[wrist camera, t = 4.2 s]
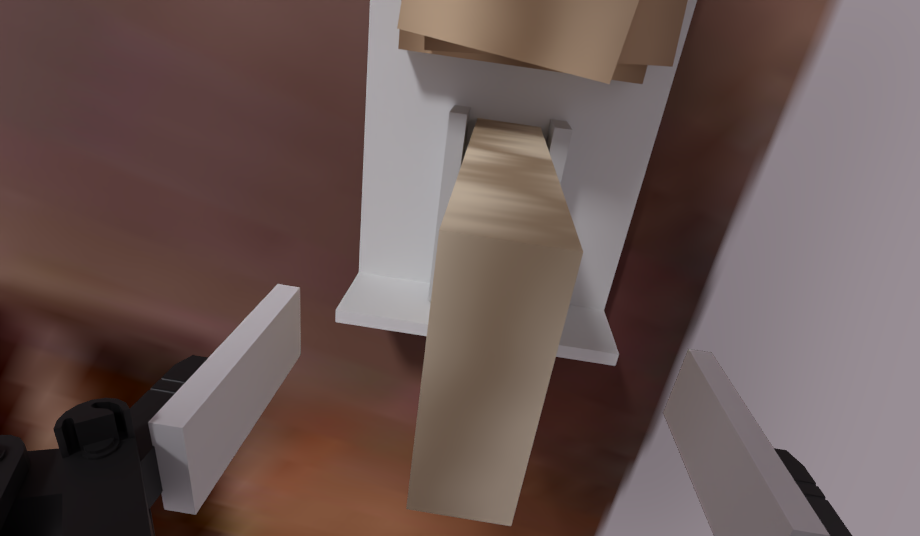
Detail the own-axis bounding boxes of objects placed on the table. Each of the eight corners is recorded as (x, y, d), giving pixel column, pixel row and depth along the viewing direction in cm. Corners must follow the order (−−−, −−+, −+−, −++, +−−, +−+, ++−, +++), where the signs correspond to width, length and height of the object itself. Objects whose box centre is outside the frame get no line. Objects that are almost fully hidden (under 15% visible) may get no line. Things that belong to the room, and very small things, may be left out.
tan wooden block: (455, 277, 32) (406, 508, 16) (477, 117, 27) (439, 230, 12) (509, 285, 31) (511, 526, 16) (540, 127, 27) (583, 251, 12)
